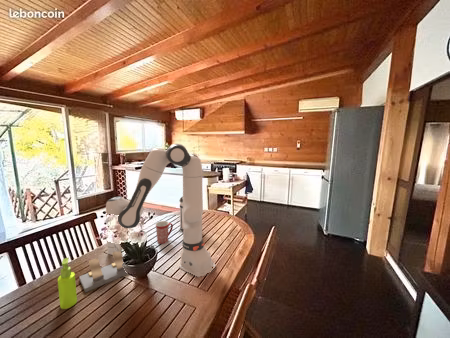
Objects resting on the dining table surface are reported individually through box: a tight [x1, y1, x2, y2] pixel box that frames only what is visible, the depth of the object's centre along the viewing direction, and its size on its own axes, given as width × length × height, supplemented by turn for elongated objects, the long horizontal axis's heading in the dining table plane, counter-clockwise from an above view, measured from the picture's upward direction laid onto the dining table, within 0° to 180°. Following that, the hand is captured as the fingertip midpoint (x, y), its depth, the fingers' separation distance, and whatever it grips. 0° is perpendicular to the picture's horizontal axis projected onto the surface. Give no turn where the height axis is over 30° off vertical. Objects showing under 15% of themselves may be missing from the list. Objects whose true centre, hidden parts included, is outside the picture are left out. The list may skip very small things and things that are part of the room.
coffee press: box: [178, 196, 184, 232], centre depth 165 cm, size 17×16×30 cm
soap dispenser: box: [57, 257, 78, 310], centre depth 88 cm, size 6×7×20 cm
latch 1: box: [88, 257, 104, 282], centre depth 102 cm, size 11×4×1 cm
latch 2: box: [112, 250, 124, 272], centre depth 110 cm, size 11×4×1 cm
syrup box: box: [106, 240, 122, 256], centre depth 128 cm, size 6×6×14 cm
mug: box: [155, 220, 174, 244], centre depth 145 cm, size 13×9×14 cm
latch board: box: [79, 262, 128, 293], centre depth 107 cm, size 12×23×3 cm, turn 136°
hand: (117, 250), depth 111 cm, fingers closed
